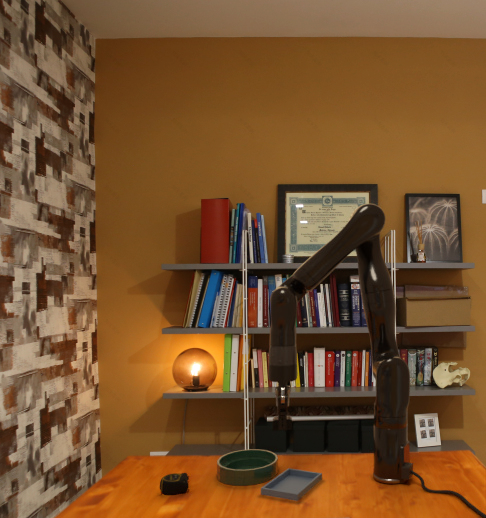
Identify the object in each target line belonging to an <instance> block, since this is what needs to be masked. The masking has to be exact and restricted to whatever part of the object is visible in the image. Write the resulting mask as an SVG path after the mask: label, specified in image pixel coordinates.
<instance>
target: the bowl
mask: <svg viewBox="0 0 486 518" xmlns="http://www.w3.org/2000/svg"><path fill="white" fill-rule="evenodd" d="M278 473H279V457H278V455H277V453H274V452H273V451H271V450H267V449H258V448H257V449H256V448H255V449H254V448H253V449H251V448H249V449H241V450H235V451H231V452H228V453H225V454H223V455H222V456H219V458H218V459H217V461H216V480H218V481H219V483H222V484H225V485H227V486H228V485H229V486H237V487H244V486H245V487H246V486H254V485H259V484H263V483H266V482H268V481H269V482H270V481H271V480H273V479H274V478H276V477H277V476H278Z"/></svg>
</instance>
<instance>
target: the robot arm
mask: <svg viewBox="0 0 486 518" xmlns="http://www.w3.org/2000/svg"><path fill="white" fill-rule="evenodd" d="M385 225H386V215H385V212H384V210H383V209H382V208H381V207H380V206H379V205H377V204H375V203H364V204H361V205H358V207H356V208H355V209H354V210H353V211H352V212H351V213H350V216H349V219H348V222H347V223H346V224H345V225H344V227H343V228H342V229H341V230H339V232H338V233H336V234H335V236H334V237H332V238H331V239H330V240H329V241H328V242H327V243H326V244H324V245H323V246H321V247H320V248H319V249H318V250H317V251H315V252H314V253H313V254H312V255H310V257H309V258H307V259H306V260H305V261H304V262H303V263H302V264H301V265H300V266H298V268H297V269H296V270H295V271H294V272H293V274H292V275H291V276H289V277H288V278H287V279H286V280H284V281H283V282H282V283H281V284H280V285H279V286H277V287H276V288H275V289H274V290H273V291H271V294H270V297H269V305H270V307H269V308H270V309H269V310H270V329H269V349H268V373H267V374H268V378H267V379H268V381H270V382H273V383H277V384H278V386H276V385H275V387H274V395H275V406H276V407H277V408H276V410H277V412H276V416H278V430H279V431H287V430H286V429H287V416H288V414H289V411H288V409H289V408H288V407H289V406H290V395H291V386H290V385H288V383H290V382H294V381H296V380H297V379H298V349H297V314H298V303H299V302H300V301H301V300H303V298H305V296H306V295H307V294H308V293H309V292H311V291H313V290H314V289H316V288H317V287H318V286H319V285H320V284H322V282H323V281H324V280H326V278H328V276H329V275H331V273H332V272H334V271H335V270H336V268H337V267H338V266H339V265H340V264H341V263H342V262H343V261H344V260H345V259H346V258H348V257H349V255H351V254H352V253H353V252H354V251H355V254H356V257H357V258H356V259H357V260H356V261H357V271H358V281H359V289H360V295H361V296H360V297H361V304H362V308H363V313H364V318H365V324H366V327H367V330H368V335H369V340H370V351H371V352H370V353H371V371H372V375H373V378H374V380H375V381H376V382H375V384H376V385H375V387H376V388H375V389H376V390H375V401H374V403H373V473H372V476H373V480H375V481H377V482H379V483H382V484H390V485H394V484H395V485H396V484H405V483H406V482H407V481H409V480H410V479H411V478H412V476H414V477H416V478H417V479H418V480H419V481H420V485H421V488H422V489H423V490H424V491H425V492H427V493H430V494H431V493H432V494H443V495H444V494H447V495H453V496H455V497H458V498H459V499H461V501H462V502H463V503H465V504H466V506H467V507H469V508H470V509H472V510H473V511H474V512H475V513H476V514H478V515H479V516H480V517H482V518H486V513H484V512H483V511H482V510H480V509H478V508H477V507H476V506H475V505H473V504H472V503H471V502H469V500H467V498H466V497H464V496H463V495H462V494H460V493H459V492H457V491H454V490H449V489H439V490H436V489H430V488H428V487H427V486H426V485H425V479H424V478H423V477H422V476H421V475H420V474H418V473H417V472H415V471H414V463H413V462H410V455H411V454H410V449H411V448H410V447H411V446H410V445H411V444H410V443H411V442H410V440H408V409H409V406H410V396H411V371H410V368H409V365H408V363H407V362H406V361H405V360H404V359H402V358H401V355H400V351H399V348H398V343H397V338H396V321H397V320H396V318H397V304H396V303H397V302H396V297H395V290H394V285H393V284H394V283H393V281H392V276H391V273H390V271H389V269H388V265H387V264H386V261H385V259H384V257H383V251H382V245H381V232H382V231H383V229H384V228H385Z"/></svg>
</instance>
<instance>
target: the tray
mask: <svg viewBox="0 0 486 518" xmlns="http://www.w3.org/2000/svg"><path fill="white" fill-rule="evenodd" d="M322 480H323V473H322V472H316V471H309V470H303V469H296V468H291V467H288V468H287V469H285V470H284V471H282V472H281V473H279V474H277V475H276V476H275V477H274V478H272V479H271V480H269V482H267V483H266V484H264V485H263V486H262V487H260V495H262V496H267V497H272V498H278V499H285V500H289V501H296V502H298V501H299V500H300V499H302V498H303V497H304V496H306V494H308V492H310V491H311V490H312V489H313V488H314V487H315V486H316V485H318V484H319V483H320V482H321V481H322Z"/></svg>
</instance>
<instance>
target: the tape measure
mask: <svg viewBox="0 0 486 518" xmlns="http://www.w3.org/2000/svg"><path fill="white" fill-rule="evenodd" d="M189 477H190V476H189V475H188V473H187V472H181V473H176V472H175V473H169V474H166V475H164V476H163V477H161V479H160V481H159V490H160V492H161V494H163V495H166V496H174V495H178V494H183V493H187V492H188V490H189Z"/></svg>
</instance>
